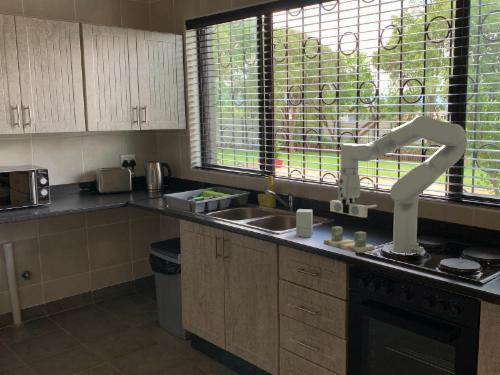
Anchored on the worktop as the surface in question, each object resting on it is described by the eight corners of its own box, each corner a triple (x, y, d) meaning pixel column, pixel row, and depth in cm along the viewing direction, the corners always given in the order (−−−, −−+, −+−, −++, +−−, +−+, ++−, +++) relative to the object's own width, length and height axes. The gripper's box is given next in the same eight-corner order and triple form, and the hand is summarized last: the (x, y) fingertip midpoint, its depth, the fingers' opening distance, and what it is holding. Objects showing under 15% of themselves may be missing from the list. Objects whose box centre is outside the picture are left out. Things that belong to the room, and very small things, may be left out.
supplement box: (313, 234, 249) (313, 209, 248) (310, 237, 242) (311, 211, 241) (298, 233, 251) (298, 208, 250) (295, 236, 244) (295, 211, 243)
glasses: (376, 215, 219) (376, 204, 219) (362, 217, 214) (363, 206, 214) (342, 208, 235) (343, 198, 235) (329, 210, 230) (329, 200, 230)
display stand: (373, 249, 219) (374, 232, 218) (358, 252, 214) (358, 235, 213) (339, 240, 236) (339, 224, 235) (323, 243, 230) (323, 227, 229)
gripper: (342, 173, 213) (341, 216, 215) (368, 171, 222) (366, 212, 225) (330, 172, 219) (329, 213, 221) (355, 170, 228) (354, 209, 231)
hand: (348, 212), depth 223 cm, fingers closed on glasses, 2 cm apart
